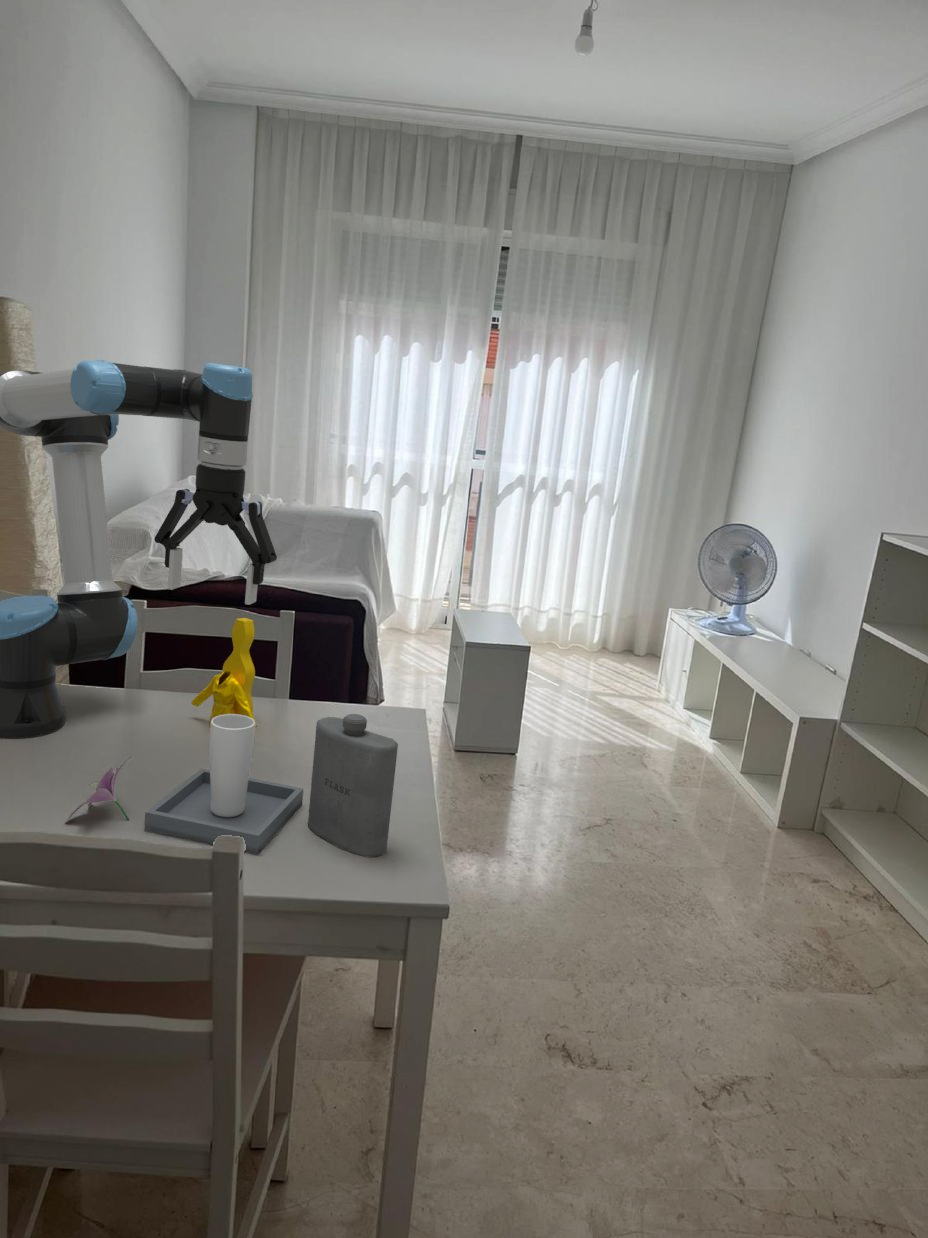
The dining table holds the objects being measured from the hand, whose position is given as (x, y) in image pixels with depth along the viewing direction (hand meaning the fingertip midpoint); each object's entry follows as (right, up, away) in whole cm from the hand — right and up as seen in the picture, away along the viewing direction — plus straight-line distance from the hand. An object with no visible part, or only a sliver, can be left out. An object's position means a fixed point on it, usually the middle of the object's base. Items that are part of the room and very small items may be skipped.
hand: (211, 595), depth 150 cm
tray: (+4, -35, -6) cm, 36 cm away
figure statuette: (-5, -26, +30) cm, 40 cm away
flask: (+23, -38, -8) cm, 45 cm away
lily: (-14, -34, -10) cm, 38 cm away
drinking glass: (+4, -34, -6) cm, 35 cm away
